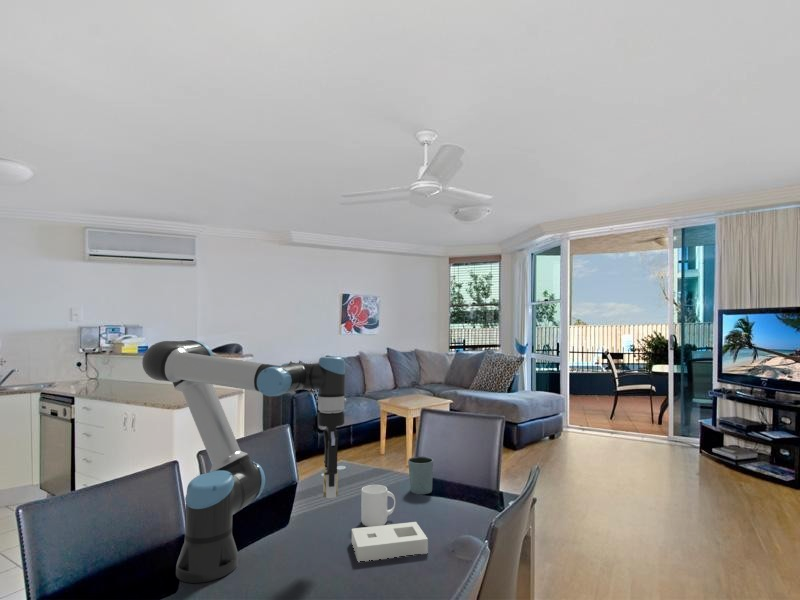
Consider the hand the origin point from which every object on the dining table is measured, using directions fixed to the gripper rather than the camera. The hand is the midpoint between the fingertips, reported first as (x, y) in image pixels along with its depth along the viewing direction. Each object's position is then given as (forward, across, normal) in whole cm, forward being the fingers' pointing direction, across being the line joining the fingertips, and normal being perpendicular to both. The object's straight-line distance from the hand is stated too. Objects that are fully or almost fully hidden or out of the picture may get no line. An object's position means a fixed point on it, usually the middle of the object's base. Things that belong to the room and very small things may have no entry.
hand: (330, 494), depth 126 cm
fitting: (0, 0, 0) cm, 0 cm away
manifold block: (+16, 0, -17) cm, 24 cm away
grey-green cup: (+17, +44, -40) cm, 62 cm away
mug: (+17, +19, -18) cm, 31 cm away
